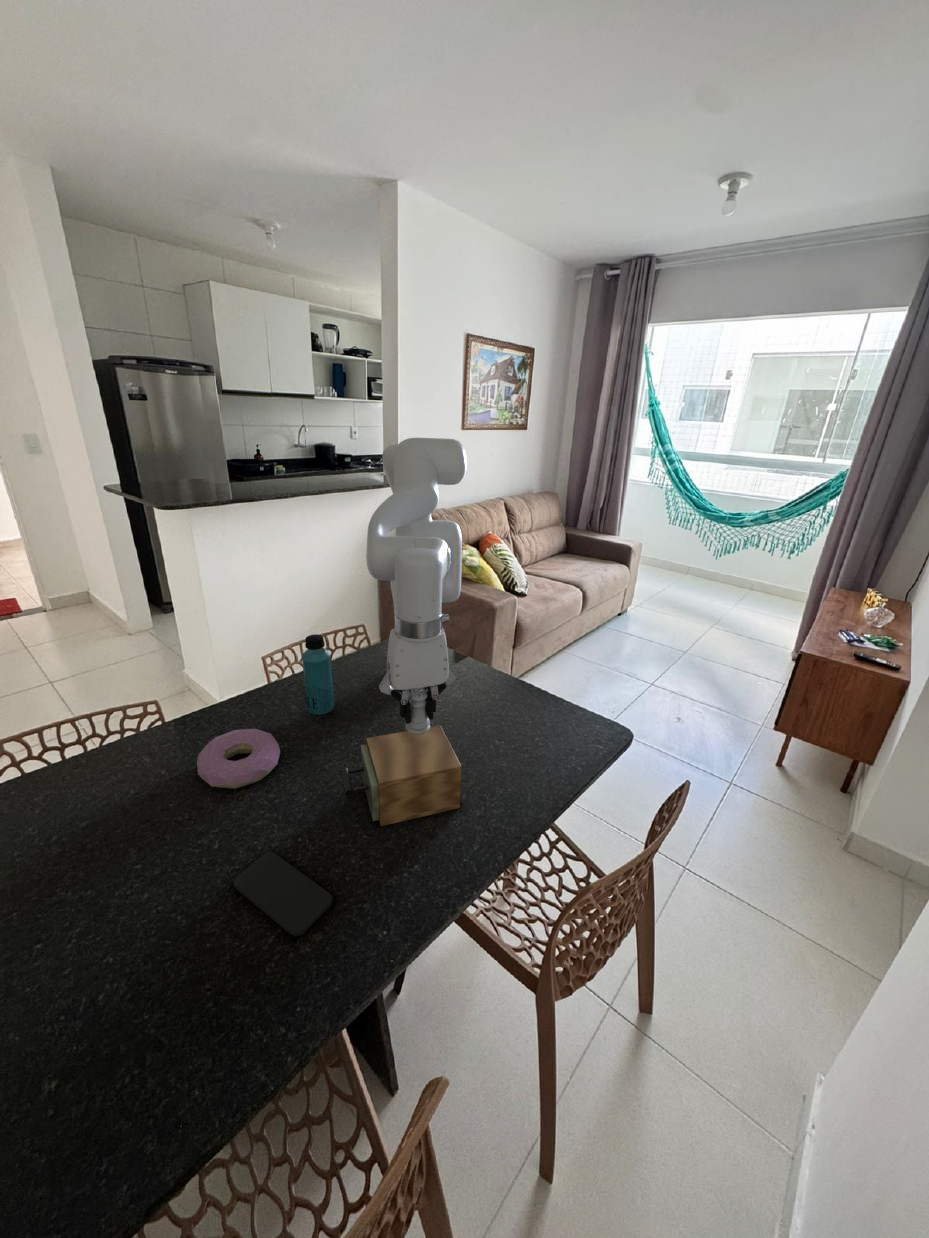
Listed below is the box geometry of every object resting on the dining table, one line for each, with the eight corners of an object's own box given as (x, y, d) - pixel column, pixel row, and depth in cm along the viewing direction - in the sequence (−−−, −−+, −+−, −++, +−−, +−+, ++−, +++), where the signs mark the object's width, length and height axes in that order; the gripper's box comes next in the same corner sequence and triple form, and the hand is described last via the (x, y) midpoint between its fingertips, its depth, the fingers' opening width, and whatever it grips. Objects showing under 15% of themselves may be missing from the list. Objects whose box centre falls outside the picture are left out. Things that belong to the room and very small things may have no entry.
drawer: (348, 826, 89) (346, 791, 85) (340, 782, 98) (337, 749, 95) (446, 804, 94) (447, 770, 91) (429, 764, 104) (429, 732, 101)
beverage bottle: (339, 706, 124) (333, 631, 116) (329, 722, 118) (323, 644, 110) (312, 703, 124) (305, 629, 116) (302, 719, 118) (294, 642, 110)
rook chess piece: (401, 732, 91) (400, 693, 88) (412, 719, 95) (412, 681, 92) (423, 738, 90) (424, 700, 87) (434, 725, 94) (435, 687, 90)
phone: (296, 936, 71) (229, 881, 78) (296, 940, 71) (230, 885, 78) (335, 897, 76) (270, 849, 84) (336, 900, 77) (270, 852, 84)
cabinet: (380, 826, 90) (379, 782, 86) (367, 778, 101) (366, 738, 97) (459, 807, 95) (461, 766, 91) (439, 764, 106) (440, 725, 102)
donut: (237, 736, 112) (234, 717, 109) (296, 753, 107) (294, 734, 105) (179, 782, 98) (174, 761, 96) (244, 804, 94) (240, 782, 92)
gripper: (458, 610, 90) (454, 699, 97) (364, 620, 85) (367, 713, 92) (473, 628, 84) (468, 721, 91) (372, 639, 78) (375, 737, 86)
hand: (417, 716), depth 91 cm, fingers closed on rook chess piece, 3 cm apart
